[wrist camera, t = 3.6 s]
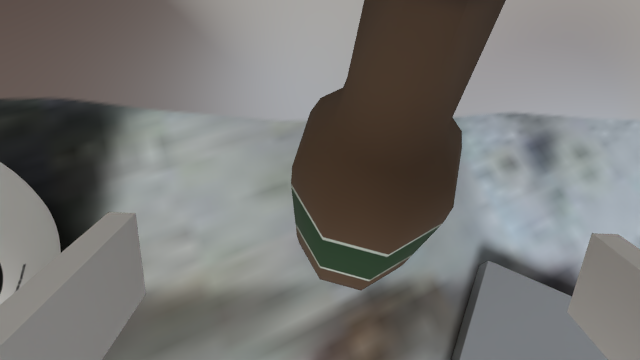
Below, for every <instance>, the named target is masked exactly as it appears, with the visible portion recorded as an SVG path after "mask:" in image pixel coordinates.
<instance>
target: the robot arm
mask: <svg viewBox="0 0 640 360" xmlns="http://www.w3.org/2000/svg"><path fill="white" fill-rule="evenodd" d="M145 295H146V291H145V283H144V275H143V267H142V260H141V252H140V244H139V236H138V228H137V220H136V213H117V212H108V213H107V214H106V215H105V216H104V217H102V218H101V219H100V220H99V221H98V222H97V223H95V224H94V225H93V226H92V227H91V228H90V229H88V230H87V231H86V232H85V233H84V234H83V235H81V236H80V237H79V238H78V239H77V240H75V241H74V242H73V243H72V244H71V245H70V246H68V247H67V248H66V249H65V250H64V251H63V252H61V253H60V254H59V255H58V256H57V257H56V258H54V259H53V260H52V261H51V262H50V263H49V264H47V265H46V266H45V267H44V268H43V269H42V270H40V271H39V272H38V273H37V274H36V275H35V276H33V277H32V278H31V279H30V280H29V281H27V282H26V283H25V284H24V285H23V286H22V287H20V288H19V289H18V290H17V291H16V292H15V293H13V294H12V295H11V296H10V297H9V298H8V299H6V300H5V301H4V302H3V303H2V304H1V305H0V360H102V359H103V357H104V356H105V354H106V353H107V351H108V350H109V348H110V347H111V345H112V344H113V342H114V341H115V339H116V338H117V336H118V335H119V333H120V332H121V330H122V329H123V327H124V326H125V324H126V323H127V321H128V320H129V318H130V317H131V315H132V314H133V312H134V311H135V310H136V308H137V307H138V305H139V304H140V302H141V301H142V299H143V298H144V296H145ZM567 312H568V313H569V315H570V316H571V317H572V318H573V319H574V320H575V322H576V323H577V324H578V325H579V326H580V327H581V328H582V330H583V331H584V332H585V333H586V334H587V335H588V337H589V338H590V339H591V340H592V341H593V342H594V344H595V345H596V346H597V347H598V348H599V349H600V351H601V352H602V353H603V354H604V355H605V356H606V358H607V359H608V360H640V249H638V248H637V247H636V246H634V245H633V244H631V243H630V242H628V241H627V240H626V239H624V238H623V237H621V236H620V235H617V234H594V233H592V235H591V238H590V241H589V245H588V248H587V251H586V254H585V257H584V260H583V264H582V267H581V270H580V273H579V276H578V279H577V283H576V286H575V289H574V292H573V295H572V298H571V302H570V305H569V308H568V311H567Z"/></svg>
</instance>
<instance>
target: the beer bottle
mask: <svg viewBox="0 0 640 360" xmlns="http://www.w3.org/2000/svg"><path fill="white" fill-rule="evenodd" d="M505 1H506V0H365V1H364V5H363V9H362V14H361V19H360V23H359V27H358V32H357V37H356V41H355V45H354V50H353V55H352V59H351V64H350V68H349V73H348V77H347V80H346V82H345V85H344V87H343V88H341V89H339V90H337V91H335V92H333V93H331V94H328V95H326V96H324V97H322V98H320V100H319V101H318V103H317V104H316V105H315V107H314V108H313V109H312V111H311V112H310V115H309V118H308V121H307V124H306V127H305V130H304V133H303V136H302V139H301V142H300V145H299V148H298V151H297V154H296V157H295V160H294V163H293V166H292V179H291V187H292V196H293V204H294V213H295V222H296V231H297V237H298V240H299V243H300V245H301V247H302V249H303V250H304V252H305V254H306V256H307V257H308V259H309V261H310V263H311V264H312V266H313V268H314V270H315V271H316V273H317V275H318V277H319V279H322V280H325V281H329V282H332V283H336V284H340V285H343V286H347V287H351V288H354V289H358V290H362V289H364V288H366V287H367V286H369V285H371V284H372V283H374V282H376V281H377V280H379V279H381V278H382V277H384V276H386V275H387V274H389V273H391V272H392V271H394V270H396V269H397V268H399V267H400V266H402V265H403V264H404V263H405V262H406V261H407V260H408V259H409V258H410V257H411V256H412V254H413V253H414V252H415V251H416V250H417V249H418V248H419V247H420V246H421V245H422V244H423V243H424V242H425V241H426V240H427V239H428V238H429V237H430V236H431V235H432V234H433V233H434V232H435V231H436V230H437V228H438V227H439V226H440V225H441V224H442V223H443V222H444V220H445V219H446V217H447V216H448V214H449V213H450V211H451V210H452V208H453V205H454V198H455V191H456V184H457V177H458V170H459V163H460V156H461V149H462V131H461V130H460V128H459V127H458V125H457V124H456V122H455V121H454V119H453V118H452V117H453V114H454V112H455V110H456V108H457V106H458V103H459V101H460V99H461V97H462V95H463V93H464V90H465V88H466V86H467V84H468V81H469V79H470V77H471V75H472V73H473V71H474V68H475V66H476V64H477V62H478V60H479V57H480V55H481V53H482V51H483V49H484V47H485V44H486V42H487V40H488V38H489V36H490V33H491V31H492V29H493V27H494V24H495V22H496V20H497V18H498V16H499V14H500V11H501V9H502V7H503V5H504V3H505Z"/></svg>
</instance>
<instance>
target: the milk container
mask: <svg viewBox="0 0 640 360" xmlns="http://www.w3.org/2000/svg"><path fill="white" fill-rule="evenodd" d="M60 253H61V249H60V240H59V234H58V231H57V227H56V224H55V222H54V219H53V217H52V215H51V213H50V211H49V209H48V208H47V206H46V205H45V203H44V202H43V201H42V199H41V198H40V197H39V196H38V195H37V193H36V192H35V191H34V190H33V189H32V188H31V187H30V186H29V185H28V184H27V183H26V182H25V181H24V180H23V179H22V178H21V177H20V176H18V175H17V174H16V173H15V172H14V171H12V170H11V169H9V168H8V167H7V166H5V165H4V164H2V163H1V162H0V305H1V304H2V303H3V302H4V301H5V300H6V299H8V298H9V297H10V296H11V295H12V294H13V293H15V292H16V291H17V290H18V289H19V288H20V287H22V286H23V285H24V284H25V283H26V282H27V281H29V280H30V279H31V278H32V277H33V276H35V275H36V274H37V273H38V272H39V271H40V270H42V269H43V268H44V267H45V266H46V265H47V264H49V263H50V262H51V261H52V260H53V259H54V258H56V257H57V256H58V255H59V254H60Z"/></svg>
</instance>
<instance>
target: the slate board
mask: <svg viewBox="0 0 640 360" xmlns="http://www.w3.org/2000/svg"><path fill="white" fill-rule="evenodd" d="M571 298H572V296H570V295H567V294H565V293H563V292H560V291H558V290H556V289H553V288H551V287H549V286H546V285H544V284H542V283H539V282H537V281H535V280H533V279H530V278H528V277H526V276H523V275H521V274H519V273H516V272H514V271H512V270H509V269H507V268H505V267H502V266H500V265H498V264H496V263H493V262H491V261H489V260H488V261H486V262H485V263H483V264H481V265H479V268H478V272H477V275H476V278H475V282H474V285H473V288H472V292H471V295H470V298H469V302H468V305H467V309H466V312H465V315H464V319H463V322H462V325H461V329H460V332H459V335H458V339H457V342H456V346H455V349H454V352H453V356H452V359H451V360H608V359H607V358H606V356H605V355H604V354H603V353H602V352H601V351H600V349H599V348H598V347H597V346H596V345H595V344H594V342H593V341H592V340H591V339H590V338H589V337H588V335H587V334H586V333H585V332H584V331H583V330H582V328H581V327H580V326H579V325H578V324H577V323H576V322H575V320H574V319H573V318H572V317H571V316H570V315H569V313H568V312H567V311H568V308H569V305H570V302H571Z"/></svg>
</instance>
